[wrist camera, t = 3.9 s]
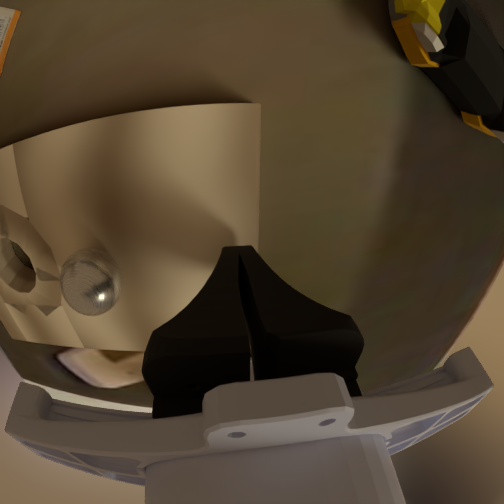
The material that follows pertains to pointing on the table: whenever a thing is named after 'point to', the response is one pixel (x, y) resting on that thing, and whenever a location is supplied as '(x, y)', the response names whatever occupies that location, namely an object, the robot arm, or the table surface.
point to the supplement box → (6, 31)
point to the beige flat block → (126, 216)
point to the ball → (91, 281)
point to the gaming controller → (455, 57)
